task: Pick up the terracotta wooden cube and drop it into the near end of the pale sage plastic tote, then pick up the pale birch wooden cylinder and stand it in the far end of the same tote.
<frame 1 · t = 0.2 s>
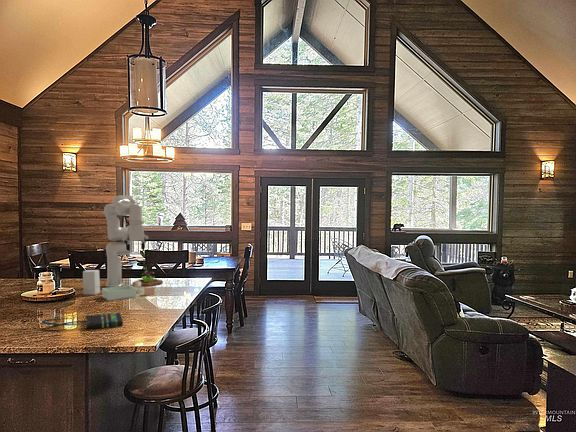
hand: (135, 249, 263), 30 cm above the table, tool pointing down, fingers open, 9 cm apart
terracotta cube: (149, 294, 270), on the table
plant: (147, 285, 305), on the table
birch cylinder: (137, 292, 277), on the table
sage tote: (119, 297, 262), on the table
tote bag: (83, 326, 201), on the table
skincare box: (91, 294, 271), on the table
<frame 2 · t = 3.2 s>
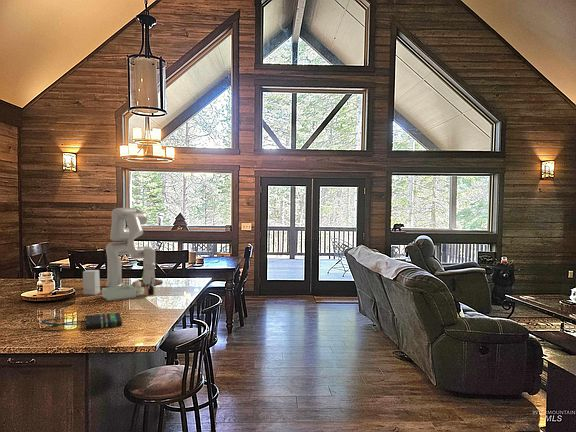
hand: (149, 293, 270), 1 cm above the table, tool pointing down, fingers closed on terracotta cube, 5 cm apart
terracotta cube: (149, 294, 270), on the table, touching gripper
when the fingers open (5 cm above the table, at t = 8.4 s): terracotta cube drops 4 cm, resting on sage tote.
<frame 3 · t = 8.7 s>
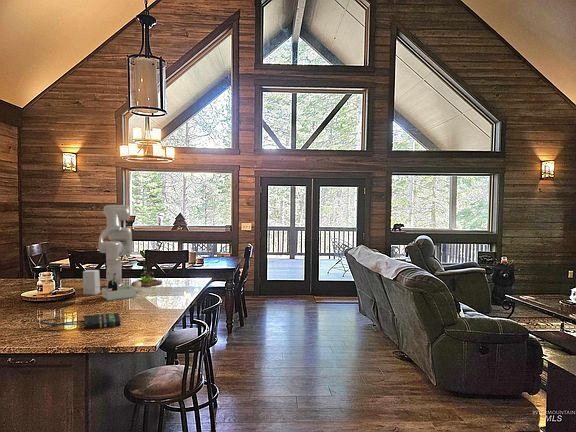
hand: (112, 289, 260), 5 cm above the table, tool pointing down, fingers open, 7 cm apart
terracotta cube: (112, 297, 260), resting on sage tote
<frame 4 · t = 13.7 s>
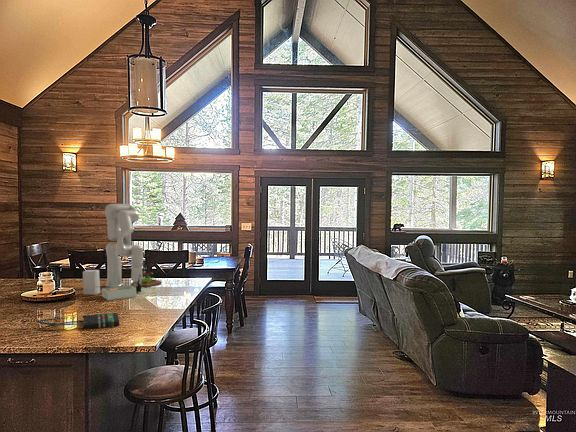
hand: (137, 290, 277), 1 cm above the table, tool pointing down, fingers closed on birch cylinder, 4 cm apart
birch cylinder: (137, 292, 277), on the table, touching gripper
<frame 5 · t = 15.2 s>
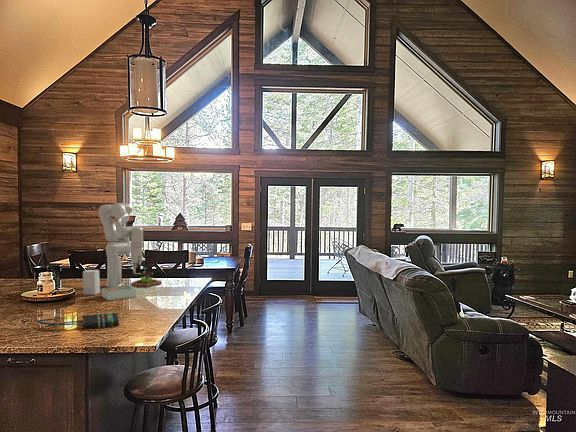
hand: (136, 272, 277), 14 cm above the table, tool pointing down, fingers closed on birch cylinder, 4 cm apart
birch cylinder: (136, 273, 277), point 13 cm above the table, touching gripper
when the fingers open (5 cm above the table, at t = 19.3 s): birch cylinder drops 1 cm, point 2 cm above the table.
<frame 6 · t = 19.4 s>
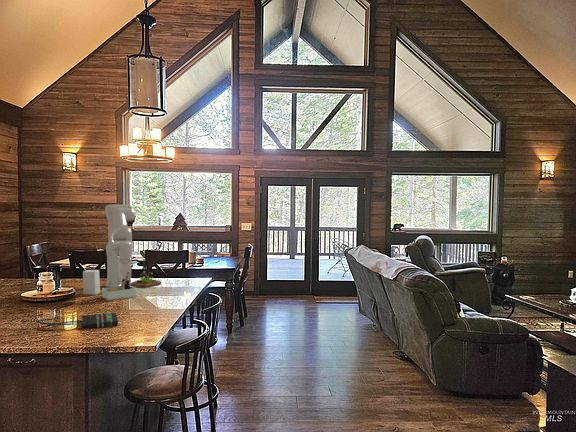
hand: (125, 288, 265), 5 cm above the table, tool pointing down, fingers open, 5 cm apart
birch cylinder: (125, 292, 265), point 2 cm above the table
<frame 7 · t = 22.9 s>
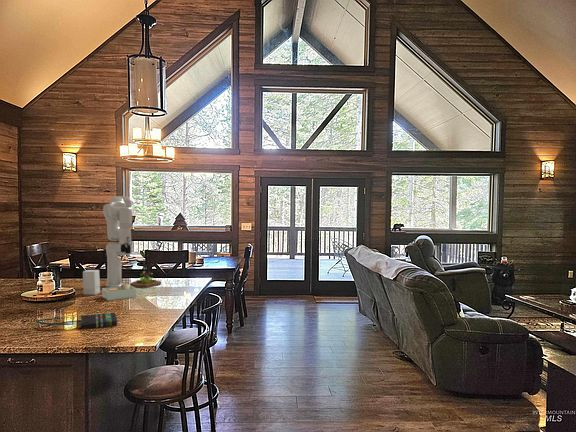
hand: (125, 252, 264), 28 cm above the table, tool pointing down, fingers open, 9 cm apart
birch cylinder: (125, 295, 265), resting on sage tote
at the end: terracotta cube inside the target area on the sage tote (4.0 cm from its centre), point 0.5 cm above the sage tote's base; birch cylinder inside the target area on the sage tote (4.0 cm from its centre), point 0.5 cm above the sage tote's base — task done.
